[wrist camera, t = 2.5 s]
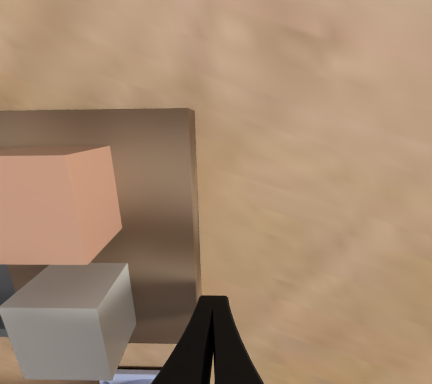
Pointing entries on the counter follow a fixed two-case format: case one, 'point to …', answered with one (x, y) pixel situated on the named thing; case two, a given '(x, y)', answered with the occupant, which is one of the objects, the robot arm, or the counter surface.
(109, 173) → the peach matte cube
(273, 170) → the counter surface
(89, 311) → the pale grey cube
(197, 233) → the walnut board
